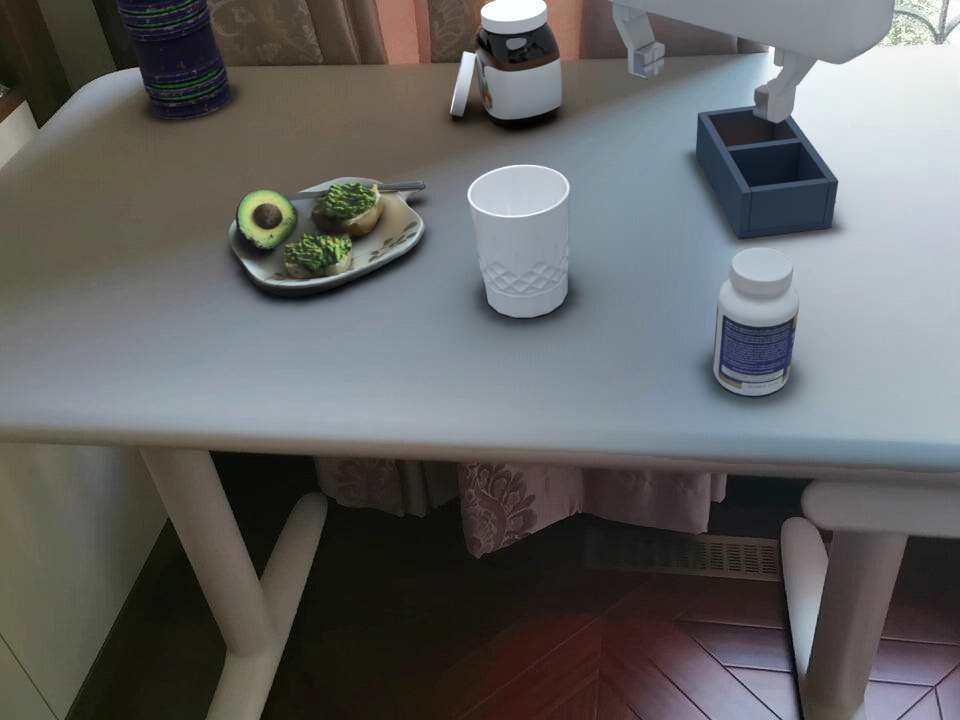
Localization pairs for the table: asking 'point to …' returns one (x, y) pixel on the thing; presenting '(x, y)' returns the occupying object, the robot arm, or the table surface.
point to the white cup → (522, 237)
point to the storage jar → (177, 56)
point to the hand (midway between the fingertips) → (706, 94)
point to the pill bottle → (756, 323)
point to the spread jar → (513, 65)
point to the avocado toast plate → (323, 233)
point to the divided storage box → (764, 173)
